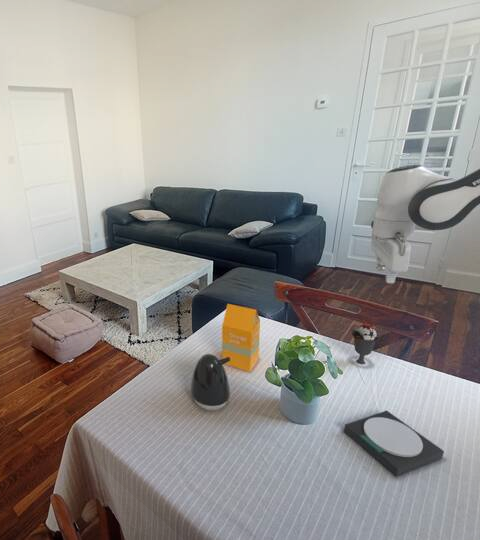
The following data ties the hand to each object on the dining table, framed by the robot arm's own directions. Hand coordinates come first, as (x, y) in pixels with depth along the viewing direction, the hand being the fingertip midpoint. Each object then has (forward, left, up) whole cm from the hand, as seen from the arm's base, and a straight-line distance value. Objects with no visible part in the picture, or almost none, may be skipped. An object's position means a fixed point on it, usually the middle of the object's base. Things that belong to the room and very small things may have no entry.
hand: (384, 275), depth 95 cm
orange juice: (+39, -11, -26) cm, 48 cm away
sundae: (+8, +3, -26) cm, 27 cm away
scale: (+27, +27, -26) cm, 46 cm away
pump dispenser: (+56, +1, -26) cm, 61 cm away
